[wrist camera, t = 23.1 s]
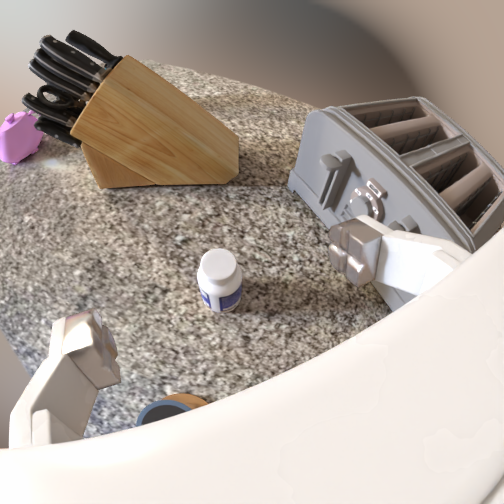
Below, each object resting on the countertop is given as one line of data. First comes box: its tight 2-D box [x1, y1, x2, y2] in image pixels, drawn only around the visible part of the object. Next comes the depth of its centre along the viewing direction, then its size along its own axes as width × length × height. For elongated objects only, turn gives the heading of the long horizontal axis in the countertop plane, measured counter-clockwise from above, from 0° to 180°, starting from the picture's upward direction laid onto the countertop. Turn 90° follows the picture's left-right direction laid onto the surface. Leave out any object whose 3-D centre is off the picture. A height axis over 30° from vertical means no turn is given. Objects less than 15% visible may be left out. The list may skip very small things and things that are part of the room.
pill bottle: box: [197, 248, 242, 313], centre depth 35 cm, size 5×5×9 cm
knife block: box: [22, 30, 239, 189], centre depth 37 cm, size 11×35×31 cm, turn 92°
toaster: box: [287, 96, 504, 312], centre depth 41 cm, size 31×36×17 cm
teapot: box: [0, 110, 43, 165], centre depth 48 cm, size 20×14×12 cm
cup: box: [136, 400, 199, 427], centre depth 25 cm, size 6×6×9 cm
